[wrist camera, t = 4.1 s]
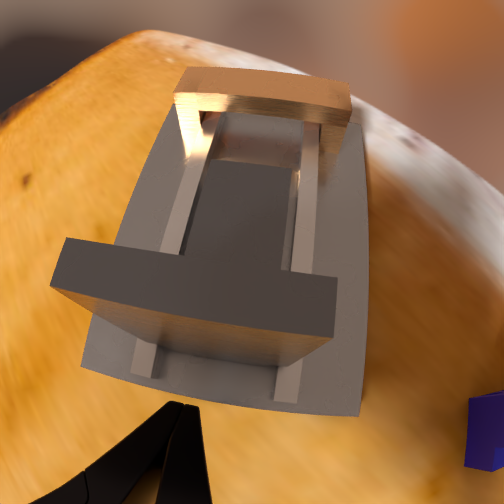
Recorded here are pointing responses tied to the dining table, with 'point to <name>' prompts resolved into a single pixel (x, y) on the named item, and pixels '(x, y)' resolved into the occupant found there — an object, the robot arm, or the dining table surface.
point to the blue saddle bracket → (485, 432)
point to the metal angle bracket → (212, 278)
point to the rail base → (296, 234)
